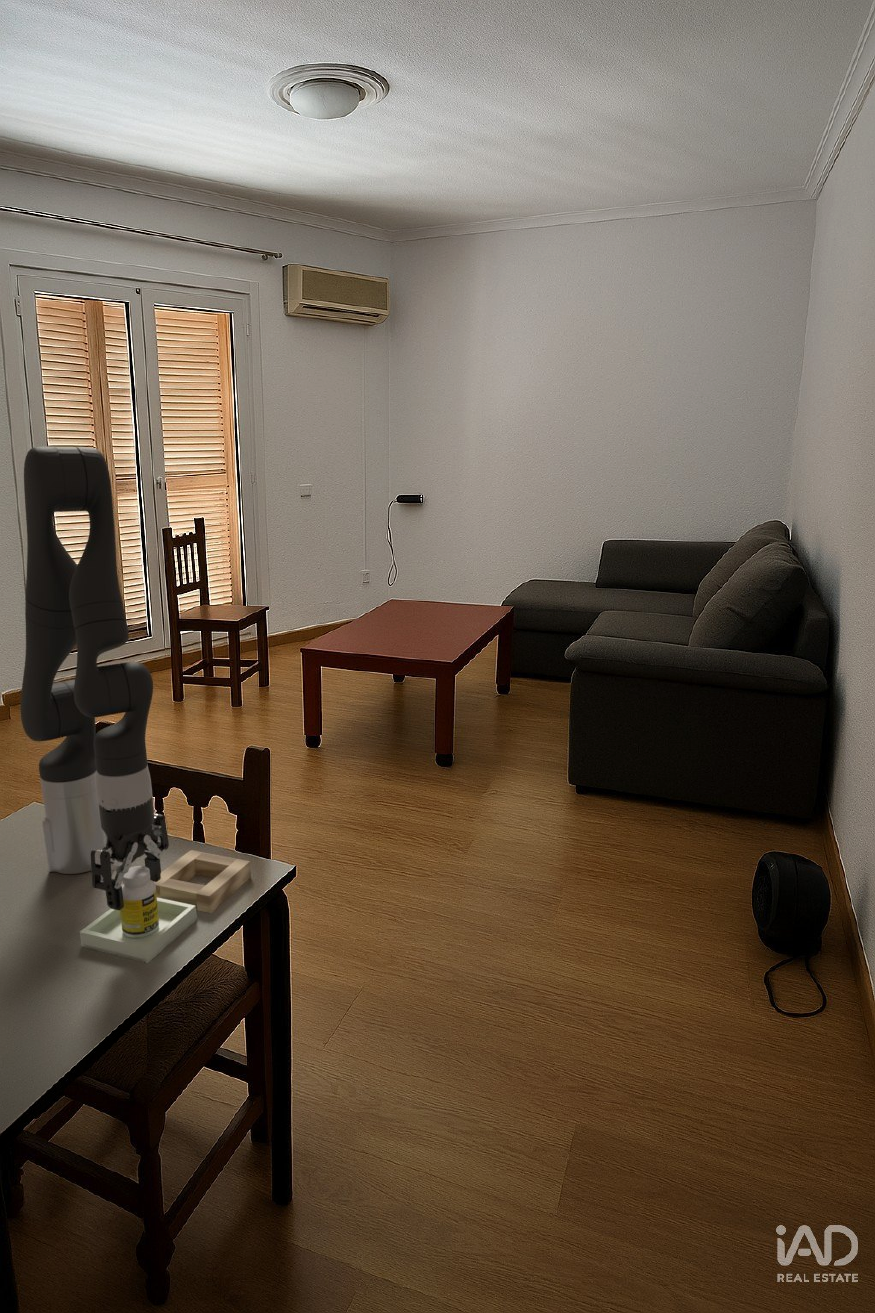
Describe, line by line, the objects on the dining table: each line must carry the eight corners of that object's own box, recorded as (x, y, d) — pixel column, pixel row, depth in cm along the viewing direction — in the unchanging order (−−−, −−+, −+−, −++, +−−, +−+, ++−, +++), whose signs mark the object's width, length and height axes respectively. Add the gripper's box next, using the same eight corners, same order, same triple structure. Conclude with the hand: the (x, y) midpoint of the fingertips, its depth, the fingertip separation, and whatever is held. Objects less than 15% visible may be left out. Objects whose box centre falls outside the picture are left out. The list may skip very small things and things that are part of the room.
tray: (147, 963, 127) (146, 948, 127) (81, 946, 131) (79, 932, 131) (196, 919, 138) (195, 905, 138) (134, 905, 142) (132, 892, 142)
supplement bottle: (148, 941, 132) (142, 883, 129) (115, 937, 133) (108, 879, 130) (166, 921, 137) (160, 865, 134) (134, 917, 138) (128, 861, 135)
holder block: (210, 913, 140) (209, 896, 139) (148, 899, 144) (146, 883, 143) (251, 877, 151) (250, 861, 150) (192, 865, 155) (190, 850, 154)
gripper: (136, 774, 136) (145, 867, 141) (69, 812, 123) (82, 913, 128) (176, 780, 134) (185, 876, 138) (112, 820, 121) (124, 923, 125)
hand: (135, 894), depth 133 cm, fingers open, 8 cm apart
